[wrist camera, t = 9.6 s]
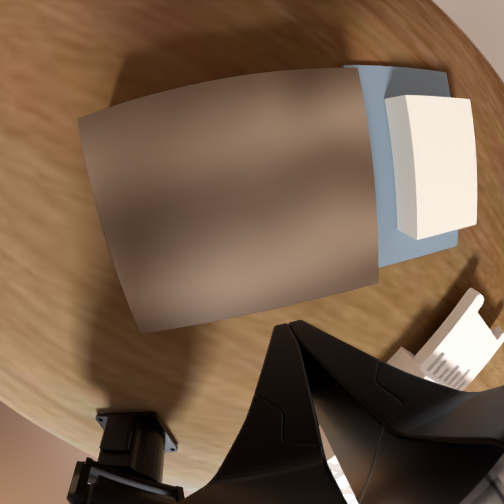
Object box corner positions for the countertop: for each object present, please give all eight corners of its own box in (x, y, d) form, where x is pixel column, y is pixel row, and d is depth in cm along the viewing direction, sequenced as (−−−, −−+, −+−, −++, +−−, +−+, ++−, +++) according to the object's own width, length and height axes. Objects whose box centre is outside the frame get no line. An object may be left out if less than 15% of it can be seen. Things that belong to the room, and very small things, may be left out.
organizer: (237, 512, 26) (489, 296, 18) (234, 482, 30) (455, 273, 23) (313, 518, 29) (517, 346, 22) (306, 493, 34) (493, 325, 27)
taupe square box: (351, 258, 20) (378, 282, 17) (151, 300, 20) (140, 334, 16) (330, 81, 16) (357, 67, 12) (104, 123, 16) (77, 119, 12)
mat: (453, 244, 21) (456, 245, 21) (364, 268, 21) (367, 270, 20) (442, 73, 16) (446, 72, 16) (341, 66, 16) (343, 64, 16)
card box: (417, 240, 17) (396, 228, 20) (476, 224, 17) (454, 215, 20) (405, 94, 14) (383, 99, 16) (469, 99, 14) (446, 100, 17)
